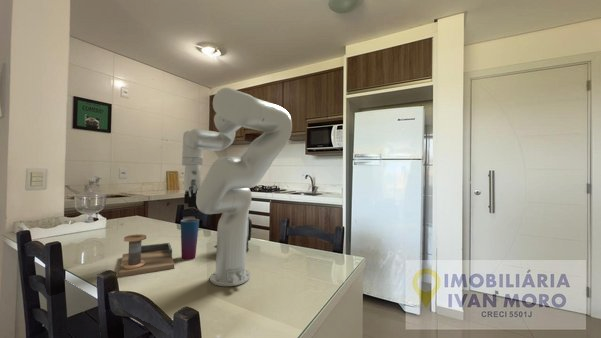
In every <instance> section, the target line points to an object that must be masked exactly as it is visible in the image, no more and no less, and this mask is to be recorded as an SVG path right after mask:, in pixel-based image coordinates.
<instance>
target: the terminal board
mask: <svg viewBox="0 0 601 338" xmlns="http://www.w3.org/2000/svg"><path fill="white" fill-rule="evenodd" d="M146 239H147V235H146V234H142V233H141V234H137V233H136V234H131V235H129V234H128V235H126V236H124V237H123V241H124V242H128V253H123V254H122V256H121V262H120V267H119V270H118V271H119V272H118V278H123V277H129V276H136V275H141V274H149V273H154V272H160V271H167V270H173V269H175V261H174V259H173V248H172V246H171V243H170V242H164V243H156V244H153V243H152V244H144V245H142V241H144V240H146Z"/></svg>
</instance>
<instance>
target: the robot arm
mask: <svg viewBox="0 0 601 338" xmlns="http://www.w3.org/2000/svg"><path fill="white" fill-rule="evenodd" d="M212 108H213V110H214V112H215V115H214V117H213V122H214V125H215V128H216V129H217V130H218V131H213V130H207V129H202V128H201V129H200V128H194V129H191V130H186V131H184V133H182V134H183V136H182V154H181V155H182V157H181V166H183V167H184V176H183V189H184V197H183V199H184V200H183V203H184V204H185V205H186V204H187V207H188V208H197V209H198V211H199V212H201V213H202V214H205V215H214V214H215V215H216V214H217V215H218V214H221V216H220V218H219V219H218V224H217V232H216V251H215V252H216V255H215V257H216V259H215V271H214V272H212V273H211V275H210V279H209V280H210V283H211V284H213V285H215V286H219V287H233V286H239V285H242V284H245V283H246V282H248V281H249V280H250V278H251V273H250V270H248V269H247V268H246V264H247V263H246V262H247V252H246V243H247V222H248V217H249V211H250V208H251V204H252V198H253V197H252V191H251V189H252V188H254V187H256V186H257V185H259V183H260V182H261V181H262V179H263V177H264V176H265V174H266V172H267V171H268V170H269V168H270V167H271V165H272V164H273V162H274V161H275V159H276V158H277V156H278V155H280V153H281V151H282V150H283V149H284V148H285V147H286V145H287V144H288V142H289V141H290V138H291V135H292V130H293V121H292V118H291V117H292V116H291V114H290V113H289V112H288V111H287V110H286V109H285V108H283V107H282V106H280V105H278V104H276V103H272V102H270V101H265V100H263V99H259V98H257V97H254V96H252V95H251V94H248V93H246V92H244V91H240V90H237V89H234V88H231V87H223V88H221V89H219V90H217V92H216V93H215V94H214V96H213V100H212ZM241 128H245V129H251V130H256V131H261V132H263V133H262V134H261V135H258V137H256V138H255V139H254V140H252V141H251V143H250V144H249V145H248V146H247V149H246V150H245V152H244V153H243V154H242V155H241V156H229V155H228V156H225V155H224V156H221V157H218V158H217V159H216V160H215V161H213V163H212V164H211V166H210V167H209V169H208V171H207V172H206V173H207V174H206V175H205V176H204V179H203V180H201V174H202V173H201V167H203V157H204V156H203V155H204V151H214V152H215V151H216V152H219V151H222V150H223V151H224V150H225V149H227V148H228V147H229V146H231V145H233V142H234V141H235V138H236V133H237V131H238V130H239V129H241ZM201 181H202V183H201Z"/></svg>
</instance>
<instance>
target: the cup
mask: <svg viewBox="0 0 601 338" xmlns="http://www.w3.org/2000/svg"><path fill="white" fill-rule="evenodd" d="M199 226H200V219H198V218H184V219H181V220H180V248H181V249H180V250H181V251H180V252H181V260H183V261H191V260H194V259H196V256H197V255H196V254H197V245H198V244H197V243H198V235H199Z"/></svg>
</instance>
